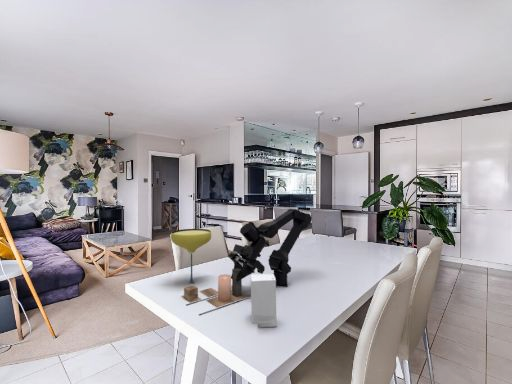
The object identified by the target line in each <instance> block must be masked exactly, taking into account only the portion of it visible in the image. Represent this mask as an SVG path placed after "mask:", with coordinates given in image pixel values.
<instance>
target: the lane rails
mask: <svg viewBox="0 0 512 384" xmlns="http://www.w3.org/2000/svg"><path fill="white" fill-rule="evenodd" d="M231 292H232V290H231ZM215 297H218V294H217V295H214V296H211V297H206V298H203V299H201V300H198V301H194V302H191V303H189V302H188V303H187V304H185V306H186V307H188V306H190V305H193V304H194V305H195V304H197V303H199V302H203V301H204V302H205V301H206V300H209V299H212V298H215ZM249 299H250V297H246V298H244V299H241V300H238V301H235V302H232V303H229V304H226V305H223V306H220V307H215V308H213V309H211V310H208V311H205V312H201V313H199V314H198V316H200V317H201V316H202V315H207V314H209V313H211V312H214V311H218V310H220V309H223V308H225V307H229V306H232V305H235V304H238V303H240V302H245V301H246V300H249Z"/></svg>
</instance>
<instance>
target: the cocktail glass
mask: <svg viewBox="0 0 512 384" xmlns="http://www.w3.org/2000/svg"><path fill="white" fill-rule="evenodd" d="M211 239H212V230H210V229H204V228H186V229H184V228H183V229H179V230H177V229H176V230H173V231H171V234H170V240H171V242H172V243H173V244H174V245H176V246H178V247H180V248H183V249H184V250H186V251H187V252H188V253H189V254H190V277H189V278H190V279H189V281H188V284H191V285H194V284H195V281H194V276H193V254H194V253H195V252H196V251H197V249H199V248H201V247H203V246H205V245H206V244H208V243H209V242H210V241H211Z"/></svg>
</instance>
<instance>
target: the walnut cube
mask: <svg viewBox="0 0 512 384" xmlns="http://www.w3.org/2000/svg"><path fill="white" fill-rule="evenodd" d="M183 295H184V298H186V299H187V300H188V301H189V300H193V299H196V298H198V297H199V288H198V287H197V286H196V285H194V284H191V285H187V286H184V287H183ZM184 298H183V299H184ZM187 300H186V301H187ZM188 301H187V302H188Z"/></svg>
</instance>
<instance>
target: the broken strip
mask: <svg viewBox="0 0 512 384" xmlns="http://www.w3.org/2000/svg"><path fill="white" fill-rule="evenodd" d="M198 293H200V294H202V295H203V296H206V298H209V297H212V296H216V295H218V290H216V289H214V288H213V287H208V288H205V289H202V290H198ZM180 297H181V298H182V299H184V300H185V301H187V302H188V304H189V303H193V302H196V301H199V300H202V298H201V297H199V296H198V298H196V299H193V300H189V301H188V300H187V299H186V298H184V294H183V295H181V296H180Z"/></svg>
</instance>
